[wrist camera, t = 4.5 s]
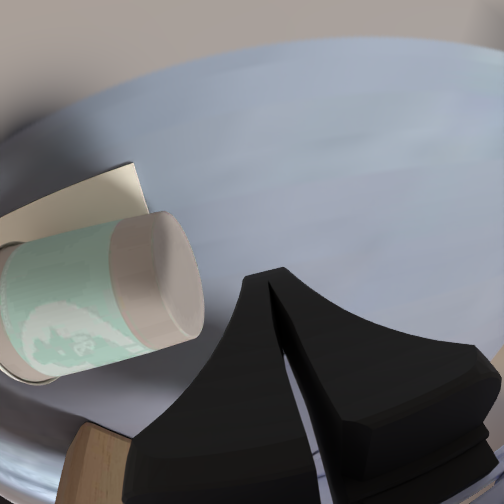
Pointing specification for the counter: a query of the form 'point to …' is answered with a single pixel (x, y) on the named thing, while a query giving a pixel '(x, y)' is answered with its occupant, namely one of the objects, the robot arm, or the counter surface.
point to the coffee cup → (96, 297)
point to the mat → (77, 207)
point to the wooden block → (94, 467)
